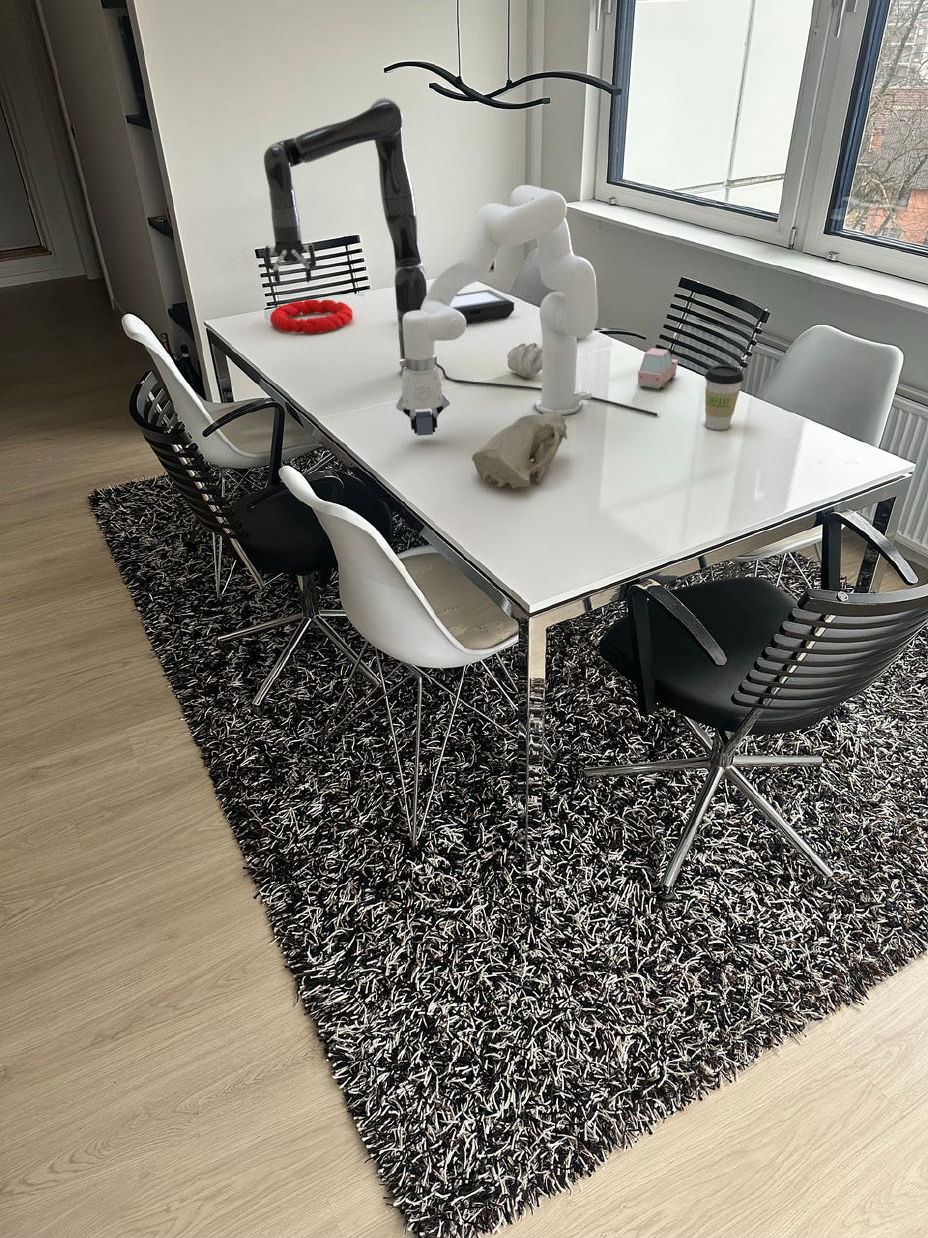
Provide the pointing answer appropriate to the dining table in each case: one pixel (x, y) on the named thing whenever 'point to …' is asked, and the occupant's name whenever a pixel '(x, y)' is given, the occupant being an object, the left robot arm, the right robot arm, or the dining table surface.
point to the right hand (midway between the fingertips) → (424, 430)
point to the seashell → (525, 360)
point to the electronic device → (482, 306)
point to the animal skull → (521, 450)
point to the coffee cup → (721, 395)
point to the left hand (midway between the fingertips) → (293, 282)
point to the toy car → (657, 368)
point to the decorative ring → (313, 324)
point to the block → (424, 423)
